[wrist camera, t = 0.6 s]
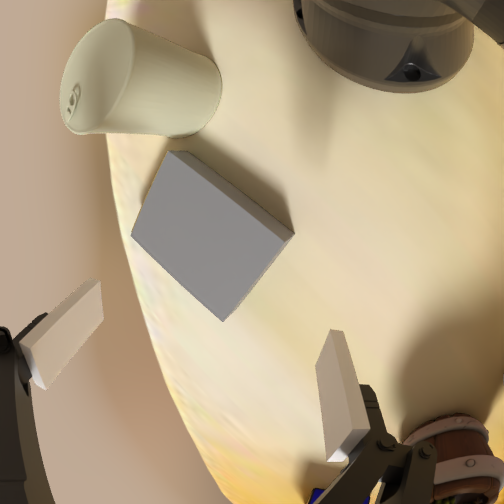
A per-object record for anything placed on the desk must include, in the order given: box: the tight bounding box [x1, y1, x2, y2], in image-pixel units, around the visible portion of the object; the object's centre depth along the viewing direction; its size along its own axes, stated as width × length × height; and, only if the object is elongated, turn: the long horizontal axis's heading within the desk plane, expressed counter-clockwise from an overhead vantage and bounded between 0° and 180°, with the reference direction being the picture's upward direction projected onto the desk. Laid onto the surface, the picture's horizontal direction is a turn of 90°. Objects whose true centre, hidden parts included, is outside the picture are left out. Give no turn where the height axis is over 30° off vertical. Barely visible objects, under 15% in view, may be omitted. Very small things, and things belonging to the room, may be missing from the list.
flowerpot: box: [403, 413, 504, 504], centre depth 15 cm, size 14×15×20 cm
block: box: [131, 151, 294, 322], centre depth 27 cm, size 10×13×3 cm
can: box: [60, 18, 222, 138], centre depth 20 cm, size 9×9×12 cm
